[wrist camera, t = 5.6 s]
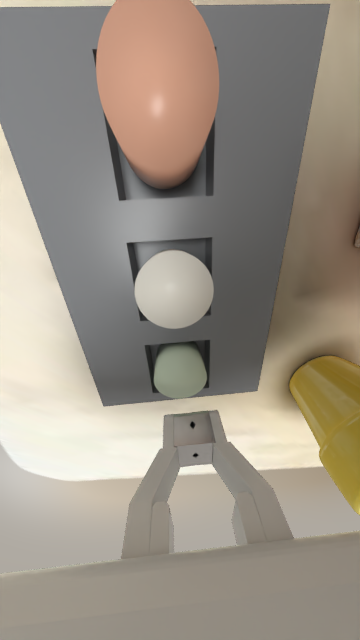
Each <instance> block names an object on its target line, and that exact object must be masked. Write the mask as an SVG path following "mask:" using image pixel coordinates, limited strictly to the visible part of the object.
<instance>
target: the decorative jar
mask: <svg viewBox="0 0 360 640" xmlns="http://www.w3.org/2000/svg"><path fill="white" fill-rule="evenodd" d="M355 246H356V247H358V248H360V226H359V230H358V233H357V236H356V239H355Z"/></svg>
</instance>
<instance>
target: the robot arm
mask: <svg viewBox="0 0 360 640" xmlns="http://www.w3.org/2000/svg"><path fill="white" fill-rule="evenodd" d="M204 464H212V465H213V467H214V468H215V470H216V471H217V473H218V474H219V476H220V477H221V479H222V480H223V482H224V483H225V484H226V486H227V487H228V489H229V491H230V492H231V494H232V495H233V497H234V498H235V500H236V502H235V506H234V511H233V516H232V524H233V529H234V534H235V538H236V543H237V545H235V546H228V547H219V548H210V549H202V550H194V551H186V552H177V553H174V528H173V523H172V518H171V513H170V508H169V505H168V503H167V501H168V498H169V495H170V493H171V490H172V487H173V485H174V482H175V480H176V477H177V475H178V472H179V469H180V467H185V466H193V465H204ZM0 640H360V531H353V532H345V533H336V534H328V535H320V536H312V537H303V538H294V537H293V535H292V533H291V530H290V528H289V526H288V523H287V521H286V518H285V516H284V514H283V511H282V509H281V507H280V504H279V502H278V499H277V497H276V494H275V492H274V490H273V488H272V487H271V486H270V485H269V484H268V482H267V481H266V480H265V479H264V478H263V477H262V476H261V475H260V474H259V473H258V472H257V470H256V469H255V468H254V467H253V466H252V465H251V464H250V463H249V462H248V461H247V460H246V459H245V457H244V456H243V455H242V454H241V453H240V452H239V451H238V450H237V449H236V448H235V447H234V446H233V444H232V443H231V442H227V439H226V436H225V433H224V429H223V426H222V422H221V419H220V415H219V412H218V411H217V410H212V411H201V412H192V413H183V414H171V415H164V426H163V449H160V450H159V452H158V453H157V455H156V457H155V459H154V461H153V462H152V464H151V466H150V468H149V470H148V471H147V473H146V475H145V477H144V479H143V480H142V482H141V484H140V486H139V487H138V489H137V491H136V493H135V495H134V496H133V498H132V500H131V502H130V504H129V510H128V517H127V523H126V530H125V536H124V543H123V549H122V556H121V559H118V560H110V561H101V562H93V563H84V564H76V565H68V566H59V567H51V568H42V569H34V570H26V571H18V572H9V573H1V574H0Z"/></svg>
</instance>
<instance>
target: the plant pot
mask: <svg viewBox="0 0 360 640" xmlns="http://www.w3.org/2000/svg"><path fill="white" fill-rule="evenodd" d="M289 388H290V391H291V393H292V395H293V397H294V399H295V401H296V403H297V404H298V406H299V408H300V410H301V412H302V414H303V416H304V418H305V420H306V421H307V423H308V425H309V427H310V429H311V431H312V433H313V435H314V437H315V439H316V441H317V442H318V444H319V446H320V451H319V457H320V460H321V462H322V464H323V466H324V467H325V469H326V470H327V472H328V473H329V475H330V477H331V478H332V480H333V481H334V483H335V484H336V485H337V487H338V488H339V490H340V491H341V493H342V494H343V496H344V497H345V499H346V500H347V501H348V503H349V504H350V505H351V507H352V508H353V509H354V511H355V512H356V513H357V514H359V515H360V366H359V365H356V364H354V363H352V362H350V361H347V360H345V359H342V358H340V357H336V356H322V357H318V358H315V359H313V360H310V361H309V362H307V363H305V364H304V365H302V366H301V367H300V368H299V369H298V370H297V371H296V372H295V373H294V374H293V376H292V378H291V380H290V384H289Z"/></svg>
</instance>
